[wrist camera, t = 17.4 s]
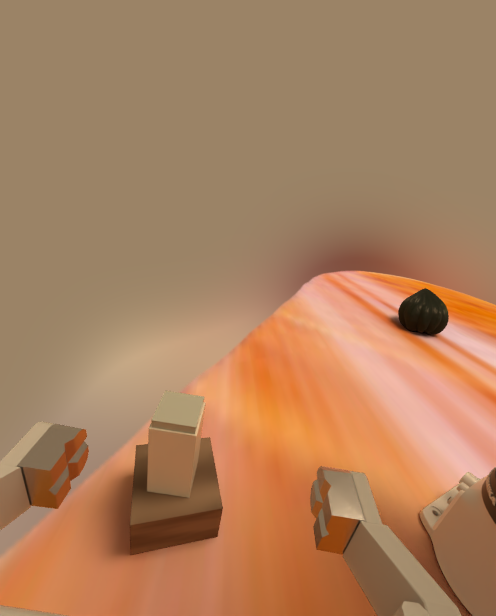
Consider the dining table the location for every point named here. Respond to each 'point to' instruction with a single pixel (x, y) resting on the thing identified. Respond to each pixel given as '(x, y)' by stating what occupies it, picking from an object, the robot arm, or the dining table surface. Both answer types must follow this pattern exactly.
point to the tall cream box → (175, 443)
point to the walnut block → (174, 506)
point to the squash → (423, 312)
